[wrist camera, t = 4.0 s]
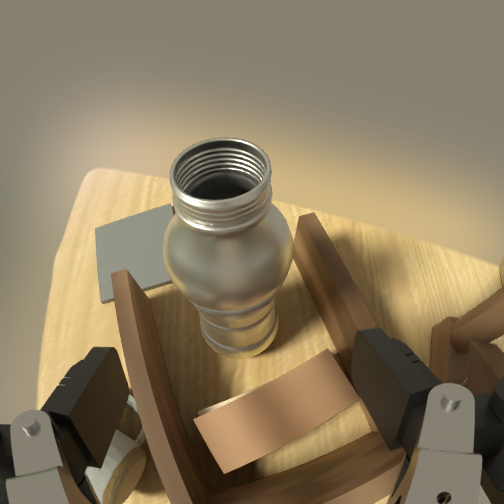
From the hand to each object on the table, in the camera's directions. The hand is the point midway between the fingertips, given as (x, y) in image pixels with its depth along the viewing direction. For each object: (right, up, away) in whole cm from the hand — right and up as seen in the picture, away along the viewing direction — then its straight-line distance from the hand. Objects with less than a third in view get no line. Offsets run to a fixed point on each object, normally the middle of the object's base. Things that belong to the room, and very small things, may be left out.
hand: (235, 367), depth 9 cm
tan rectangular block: (+3, -10, +15) cm, 18 cm away
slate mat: (-12, +4, +23) cm, 26 cm away
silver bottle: (-1, -4, +19) cm, 19 cm away
